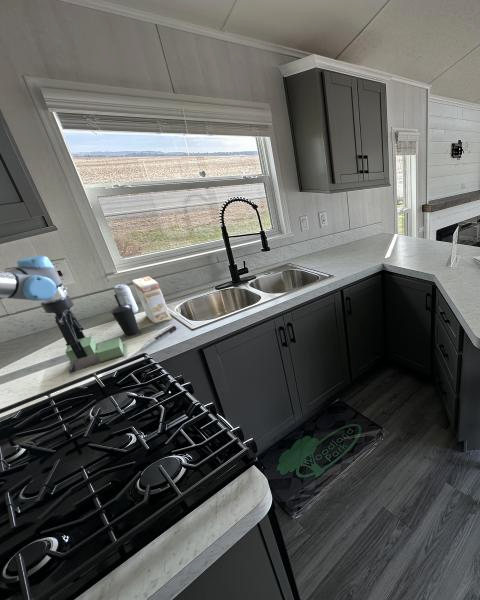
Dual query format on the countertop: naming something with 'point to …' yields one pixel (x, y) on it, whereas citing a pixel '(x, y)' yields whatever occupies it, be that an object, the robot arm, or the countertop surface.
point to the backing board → (88, 362)
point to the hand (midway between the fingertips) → (83, 351)
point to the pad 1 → (87, 344)
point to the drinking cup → (125, 318)
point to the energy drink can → (125, 296)
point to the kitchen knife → (162, 334)
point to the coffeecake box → (151, 299)
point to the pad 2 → (110, 349)
